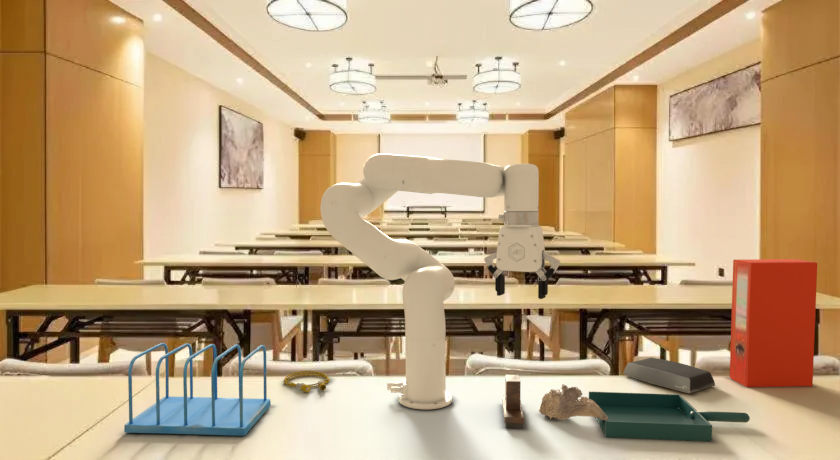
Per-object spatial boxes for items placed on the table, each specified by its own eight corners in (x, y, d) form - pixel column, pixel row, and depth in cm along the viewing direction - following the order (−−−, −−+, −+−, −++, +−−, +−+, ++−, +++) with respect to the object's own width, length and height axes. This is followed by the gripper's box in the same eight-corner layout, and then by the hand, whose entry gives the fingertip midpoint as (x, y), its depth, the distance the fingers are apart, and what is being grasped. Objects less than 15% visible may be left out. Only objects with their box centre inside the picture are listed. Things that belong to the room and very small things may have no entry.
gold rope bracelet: (275, 393, 144) (275, 385, 144) (289, 374, 160) (289, 367, 160) (325, 393, 144) (325, 385, 144) (334, 374, 160) (334, 367, 160)
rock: (604, 428, 121) (604, 394, 121) (536, 418, 128) (536, 386, 127) (609, 419, 126) (609, 386, 126) (544, 409, 133) (543, 378, 132)
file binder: (813, 386, 150) (817, 262, 148) (747, 387, 149) (751, 262, 147) (791, 377, 158) (795, 259, 156) (729, 378, 157) (732, 259, 155)
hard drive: (687, 396, 142) (687, 379, 142) (620, 376, 158) (621, 361, 158) (717, 386, 149) (717, 371, 149) (650, 368, 166) (650, 354, 165)
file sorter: (123, 434, 118) (121, 359, 118) (164, 404, 136) (163, 339, 135) (245, 436, 117) (244, 361, 117) (271, 406, 135) (270, 340, 134)
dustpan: (605, 437, 117) (605, 421, 117) (588, 405, 136) (588, 391, 136) (771, 443, 114) (771, 427, 114) (730, 410, 133) (730, 396, 133)
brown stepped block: (504, 428, 122) (504, 387, 121) (502, 405, 136) (502, 368, 135) (524, 429, 121) (524, 388, 121) (519, 406, 135) (519, 369, 135)
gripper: (478, 219, 131) (478, 296, 132) (554, 220, 122) (554, 302, 123) (491, 219, 137) (491, 291, 138) (564, 219, 129) (564, 297, 129)
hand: (521, 296), depth 130 cm, fingers open, 9 cm apart
